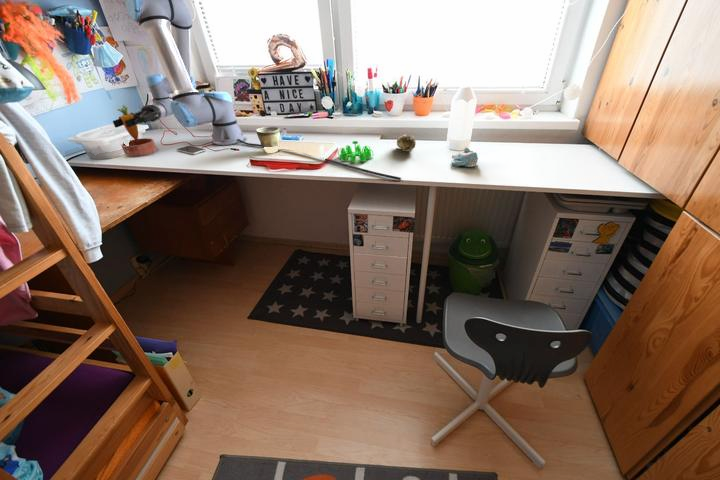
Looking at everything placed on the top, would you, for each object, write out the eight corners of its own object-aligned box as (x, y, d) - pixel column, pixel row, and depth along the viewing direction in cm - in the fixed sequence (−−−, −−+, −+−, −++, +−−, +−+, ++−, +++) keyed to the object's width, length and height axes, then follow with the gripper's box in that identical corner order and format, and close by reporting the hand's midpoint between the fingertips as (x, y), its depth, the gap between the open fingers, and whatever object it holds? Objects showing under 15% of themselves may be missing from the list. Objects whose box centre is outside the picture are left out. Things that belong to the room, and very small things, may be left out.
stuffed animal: (465, 143, 130) (486, 146, 119) (465, 161, 133) (486, 165, 122) (443, 148, 126) (463, 150, 116) (443, 166, 129) (463, 170, 119)
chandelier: (376, 153, 141) (376, 137, 137) (370, 165, 128) (369, 148, 125) (342, 152, 143) (342, 136, 140) (333, 163, 131) (332, 147, 127)
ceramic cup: (280, 154, 143) (276, 132, 138) (258, 155, 143) (253, 132, 138) (286, 146, 154) (282, 124, 148) (265, 146, 154) (261, 125, 149)
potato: (415, 147, 146) (416, 129, 142) (415, 156, 135) (416, 137, 131) (396, 147, 147) (397, 129, 143) (395, 156, 136) (395, 137, 132)
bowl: (162, 150, 154) (158, 140, 151) (134, 159, 145) (129, 148, 142) (148, 146, 160) (144, 136, 158) (120, 154, 151) (115, 143, 149)
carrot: (137, 141, 147) (122, 107, 139) (127, 141, 148) (113, 106, 140) (145, 138, 151) (131, 104, 143) (136, 138, 152) (122, 104, 144)
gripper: (173, 120, 161) (143, 132, 142) (139, 120, 163) (105, 133, 143) (167, 104, 157) (136, 115, 138) (133, 104, 158) (97, 115, 139)
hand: (120, 124), depth 140 cm, fingers closed on carrot, 5 cm apart
